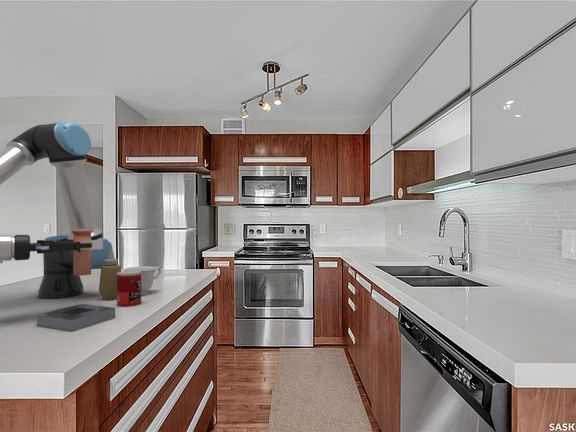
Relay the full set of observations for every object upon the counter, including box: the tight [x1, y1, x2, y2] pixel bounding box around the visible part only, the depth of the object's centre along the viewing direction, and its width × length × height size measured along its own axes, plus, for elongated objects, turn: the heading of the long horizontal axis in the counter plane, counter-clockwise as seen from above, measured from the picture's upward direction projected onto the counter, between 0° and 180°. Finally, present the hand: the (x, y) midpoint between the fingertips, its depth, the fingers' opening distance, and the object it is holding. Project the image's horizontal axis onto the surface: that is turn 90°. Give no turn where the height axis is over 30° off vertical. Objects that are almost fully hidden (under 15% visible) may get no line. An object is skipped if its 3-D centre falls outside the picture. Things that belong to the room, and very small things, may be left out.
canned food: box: [116, 270, 142, 307], centre depth 127 cm, size 8×8×11 cm
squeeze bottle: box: [98, 249, 122, 301], centre depth 136 cm, size 8×8×18 cm
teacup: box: [122, 265, 162, 296], centre depth 145 cm, size 12×15×10 cm
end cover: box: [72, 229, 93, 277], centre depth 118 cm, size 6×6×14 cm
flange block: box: [36, 303, 116, 332], centre depth 106 cm, size 14×14×3 cm
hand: (100, 244), depth 122 cm, fingers closed on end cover, 5 cm apart
